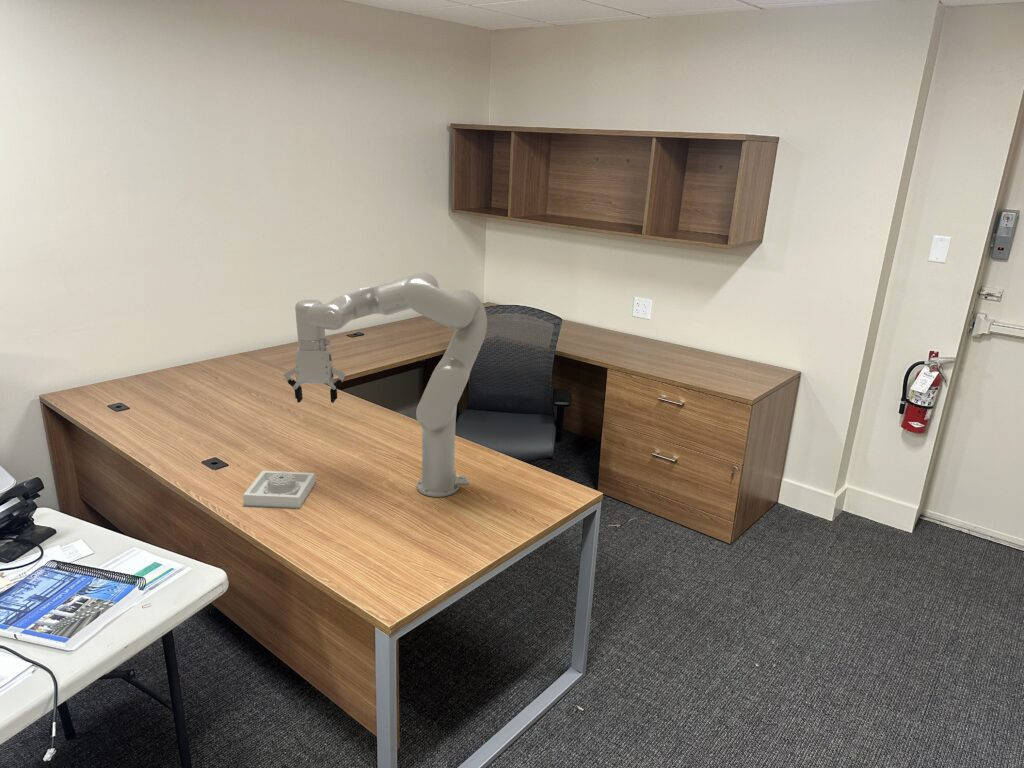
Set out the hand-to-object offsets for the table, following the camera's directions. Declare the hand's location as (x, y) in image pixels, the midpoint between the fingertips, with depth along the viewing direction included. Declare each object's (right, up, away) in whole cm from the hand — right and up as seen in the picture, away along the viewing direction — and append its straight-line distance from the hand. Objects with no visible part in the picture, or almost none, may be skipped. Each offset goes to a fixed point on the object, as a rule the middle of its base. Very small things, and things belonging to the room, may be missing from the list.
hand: (316, 401), depth 207 cm
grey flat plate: (-10, -27, -3) cm, 29 cm away
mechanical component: (-9, -26, -3) cm, 28 cm away
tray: (-10, -26, -3) cm, 28 cm away
